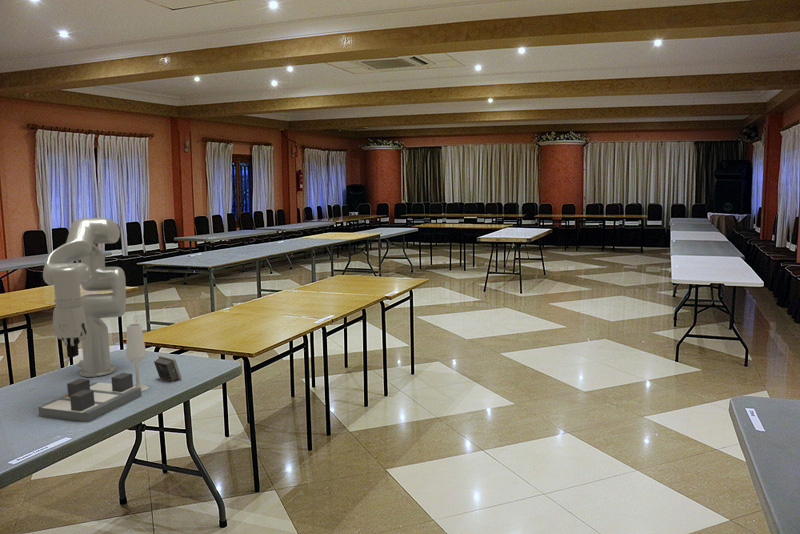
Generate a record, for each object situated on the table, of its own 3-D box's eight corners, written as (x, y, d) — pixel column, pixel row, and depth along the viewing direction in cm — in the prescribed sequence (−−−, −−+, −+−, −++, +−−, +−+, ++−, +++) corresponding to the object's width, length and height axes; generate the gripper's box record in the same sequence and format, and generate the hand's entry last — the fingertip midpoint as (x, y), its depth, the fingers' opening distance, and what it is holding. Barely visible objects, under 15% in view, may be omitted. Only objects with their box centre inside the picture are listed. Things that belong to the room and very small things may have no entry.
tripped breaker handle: (68, 396, 201) (67, 383, 201) (80, 390, 207) (79, 378, 206) (77, 397, 200) (76, 384, 200) (90, 392, 206) (89, 379, 205)
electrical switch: (182, 379, 229) (178, 356, 227) (170, 384, 225) (167, 361, 223) (167, 375, 234) (163, 353, 232) (155, 380, 230) (151, 357, 228)
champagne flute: (129, 393, 214) (124, 328, 211) (128, 387, 220) (123, 324, 217) (149, 390, 217) (145, 326, 214) (147, 384, 223) (143, 322, 220)
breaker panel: (37, 416, 193) (35, 392, 192) (95, 390, 217) (94, 369, 216) (88, 422, 188) (86, 398, 187) (142, 395, 212) (140, 373, 211)
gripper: (40, 304, 198) (46, 357, 200) (78, 306, 194) (83, 361, 197) (58, 300, 205) (63, 351, 208) (95, 302, 201) (99, 354, 204)
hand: (73, 356), depth 202 cm, fingers closed
